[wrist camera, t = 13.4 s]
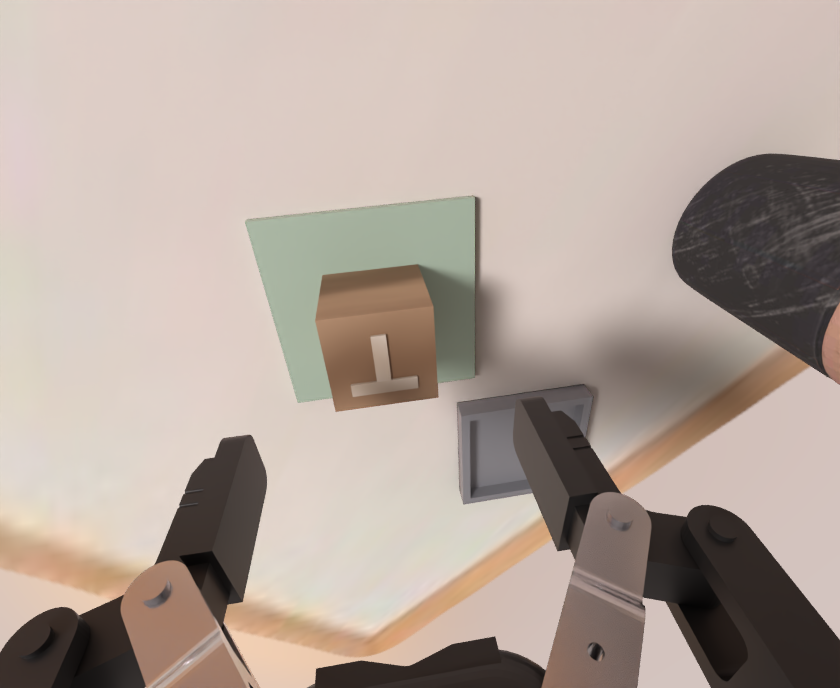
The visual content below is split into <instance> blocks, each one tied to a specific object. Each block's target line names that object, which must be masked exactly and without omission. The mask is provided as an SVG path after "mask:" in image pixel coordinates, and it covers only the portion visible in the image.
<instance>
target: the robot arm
mask: <svg viewBox="0 0 840 688" xmlns="http://www.w3.org/2000/svg"><path fill="white" fill-rule="evenodd" d="M513 443H514V448H515V451H516V454H517V457H518V459H519V461H520V464H521V466H522V468H523V471H524V473H525V476H526V478H527V480H528V483H529V485H530V487H531V490H532V492H533V494H534V497H535V499H536V501H537V504H538V506H539V509H540V511H541V513H542V516H543V518H544V520H545V523H546V525H547V527H548V530H549V532H550V534H551V537H552V539H553V541H554V544H555V546H556V549H557V551H562V550H568V549H570V550H571V552H572V554H573V556H574V559H575V563H574V567H573V571H572V575H571V579H570V582H569V586H568V590H567V594H566V598H565V601H564V605H563V608H562V612H561V616H560V620H559V623H558V627H557V631H556V635H555V639H554V642H553V646H552V650H551V653H550V658H549V661H548V665H547V669H546V670H544V669H543V668H542V667H540V666H539V665H538V664H536V663H534V662H533V661H531V660H529V659H527V658H525V657H523V656H521V655H518V654H515V653H512V652H509V651H504V650H498V646H497V642H496V638H495V637H490V638H484V639H479V640H473V641H468V642H462V643H456V644H452V645H450V646H448V647H446V648H444V649H442V650H440V651H438V652H436V653H434V654H432V655H431V656H429V657H427V658H425V659H423V660H421V661H419V662H417V663H415V664H413V665H411V666H398V665H391V664H390V665H389V664H383V663H375V662H368V661H356V662H351V663H345V664H340V665H334V666H328V667H323V668H318V669H316V680H315V684H313V685H311V686H310V687H308V688H637V685H638V676H639V667H640V658H641V650H642V642H643V633H644V624H645V606H644V605H643V604H642V599H643V597H644V598H649V599H655V600H661V601H666V603H667V605H668V607H669V609H670V611H671V613H672V615H673V617H674V618H675V620H676V622H677V624H678V626H679V628H680V630H681V632H682V634H683V635H684V637H685V639H686V641H687V643H688V645H689V647H690V649H691V651H692V653H693V654H694V656H695V658H696V660H697V662H698V664H699V666H700V668H701V670H702V671H703V673H704V675H705V677H706V679H707V681H708V683H709V685H710V687H711V688H840V640H839V639H838V637H837V636H836V635H835V633H834V632H833V631H832V630H831V628H829V626H828V625H827V623H826V622H825V621H824V620H823V618H822V617H821V616H820V615H819V614H818V612H817V611H816V610H815V608H814V607H813V606H812V605H811V603H810V602H809V601H808V600H807V598H806V597H805V596H804V595H803V593H802V592H801V591H800V590H799V588H798V587H797V586H796V585H795V583H794V582H793V581H792V580H791V578H790V577H789V576H788V575H787V573H786V572H785V571H784V570H783V568H782V567H781V566H780V564H779V563H778V562H777V561H776V560H775V558H774V557H773V556H772V554H771V553H770V552H769V551H768V549H767V548H766V547H765V546H764V544H763V543H762V542H761V541H760V539H759V538H758V537H757V536H756V534H755V533H754V532H753V531H752V530H751V528H750V527H749V526H748V525H747V524H746V523H745V522H744V521H743V520H742V519H741V518H739V517H738V516H736V515H735V514H733V513H731V512H730V511H727V510H725V509H722V508H720V507H716V506H710V505H701V506H697V507H695V508H693V509H692V510H691V511H690V512H689V514H688V516H687V517H683V516H676V515H668V514H662V513H655V512H650V511H648V510H645V509H644V508H643V507H642V506H641V505H640V504H639V503H638V502H636V501H635V500H634V499H632V498H630V497H628V496H626V495H623V494H621V492H620V491H619V490H618V488H617V487H616V485H615V483H614V482H613V480H612V479H611V477H610V476H609V474H608V472H607V471H606V469H605V468H604V466H603V465H602V463H601V461H600V460H599V458H598V457H597V455H596V453H595V452H594V450H593V449H591V446H590V444H589V442H588V441H587V439H586V438H585V437H584V434H583V433H582V431H581V430H580V428H579V427H578V425H577V423H576V422H575V421H574V420H573V419H572V418H570V417H569V416H568V415H566V414H565V413H564V412H563V411H561V410H560V411H553V412H551V410H550V408H549V406H548V405H547V403H546V401H545V400H544V398H543V397H542V396H537V397H530V398H522V399H517V400H516V404H515V415H514V427H513ZM266 488H267V475H266V470H265V467H264V464H263V462H262V459H261V457H260V454H259V452H258V449H257V447H256V444H255V442H254V439H253V437H252V436H251V435H244V436H236V437H229V438H223V439H222V440H221V442H220V444H219V447H218V450H217V452H216V455H215V458H209V459H204V461H203V462H202V463H201V464H200V465H199V466H198V468H197V469H196V470H195V471H194V472H193V473H192V475H191V477H190V480H189V482H188V484H187V487H186V489H185V494H183V497H182V499H181V502H180V504H179V506H180V507H179V508H178V509H177V512H176V514H175V517H174V519H173V521H172V524H171V526H170V529H169V531H168V534H167V536H166V539H165V541H164V544H163V546H162V549H161V551H160V554H159V556H158V558H157V561H156V563H155V565H154V566H152V567H150V568H148V569H147V570H145V571H144V572H143V573H141V574H140V575H139V576H138V577H137V578H136V579H135V580H134V581H133V582H132V583H131V585H130V586H129V587H128V589H127V591H126V592H125V594H124V595H122V596H120V597H118V598H117V599H114V600H112V601H110V602H108V603H105V604H103V605H101V606H99V607H97V608H94V609H92V610H90V611H88V612H86V613H83V614H81V615H78V614H77V613H76V612H75V611H73V610H72V609H70V608H67V607H59V608H54V609H50V610H48V611H45V612H43V613H41V614H39V615H37V616H36V617H34V618H33V619H31V620H30V621H28V622H27V623H26V624H24V625H23V626H22V627H21V628H20V629H19V630H18V631H17V632H16V633H15V634H14V635H13V636H12V637H11V638H10V639H9V641H8V642H7V643H6V644H5V646H4V648H3V649H2V651H1V652H0V688H145V687H146V688H260V687H259V685H258V683H257V681H256V680H255V678H254V676H253V674H252V672H251V670H250V669H249V667H248V665H247V663H246V661H245V659H244V658H243V656H242V654H241V652H240V650H239V648H238V646H237V645H236V643H235V641H234V639H233V637H232V635H231V633H230V632H229V630H228V628H227V626H226V624H225V623H224V617H225V613H226V609H227V605H228V604H233V603H239V602H243V598H244V593H245V588H246V584H247V579H248V574H249V569H250V565H251V560H252V555H253V551H254V546H255V541H256V536H257V532H258V527H259V522H260V517H261V513H262V508H263V503H264V498H265V494H266Z"/></svg>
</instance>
